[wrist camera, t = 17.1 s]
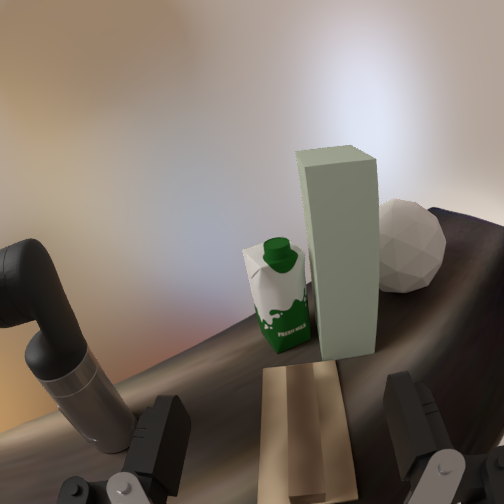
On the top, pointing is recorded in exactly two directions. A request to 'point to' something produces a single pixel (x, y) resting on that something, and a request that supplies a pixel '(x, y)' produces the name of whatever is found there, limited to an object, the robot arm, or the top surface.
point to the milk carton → (279, 291)
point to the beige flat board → (331, 429)
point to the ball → (408, 246)
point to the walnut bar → (304, 437)
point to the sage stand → (342, 246)
